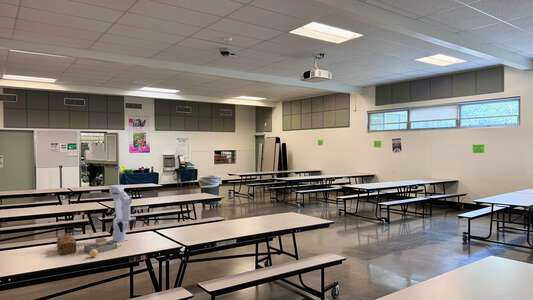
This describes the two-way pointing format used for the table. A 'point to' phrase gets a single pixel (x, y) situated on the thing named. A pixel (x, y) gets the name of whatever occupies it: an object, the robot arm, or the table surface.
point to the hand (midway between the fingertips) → (126, 231)
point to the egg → (93, 253)
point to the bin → (101, 249)
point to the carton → (100, 242)
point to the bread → (66, 245)
